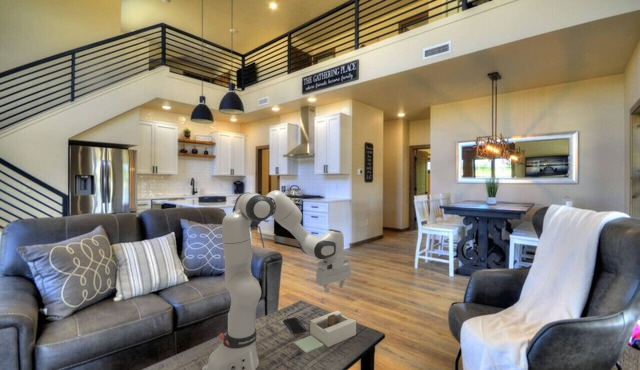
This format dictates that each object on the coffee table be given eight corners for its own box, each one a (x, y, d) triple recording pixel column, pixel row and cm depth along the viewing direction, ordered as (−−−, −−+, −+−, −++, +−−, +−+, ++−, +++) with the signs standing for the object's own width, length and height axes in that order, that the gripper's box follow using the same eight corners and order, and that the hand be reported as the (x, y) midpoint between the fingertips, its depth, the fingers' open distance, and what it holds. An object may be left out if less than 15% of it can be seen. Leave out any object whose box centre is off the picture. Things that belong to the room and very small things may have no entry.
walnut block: (332, 333, 148) (333, 319, 147) (327, 330, 151) (327, 316, 150) (338, 330, 150) (339, 317, 150) (333, 327, 153) (333, 314, 153)
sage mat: (306, 353, 134) (306, 352, 134) (293, 343, 142) (293, 342, 142) (323, 345, 140) (323, 344, 140) (310, 336, 148) (310, 335, 148)
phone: (296, 317, 166) (307, 329, 153) (295, 319, 166) (307, 332, 153) (282, 319, 163) (293, 333, 149) (282, 322, 163) (293, 335, 149)
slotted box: (328, 347, 139) (328, 332, 139) (310, 334, 150) (310, 320, 150) (355, 334, 150) (356, 321, 150) (337, 323, 161) (337, 310, 161)
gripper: (345, 257, 158) (345, 283, 158) (314, 264, 145) (314, 292, 146) (354, 260, 153) (353, 287, 153) (322, 267, 140) (322, 297, 141)
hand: (334, 289), depth 149 cm, fingers open, 8 cm apart
